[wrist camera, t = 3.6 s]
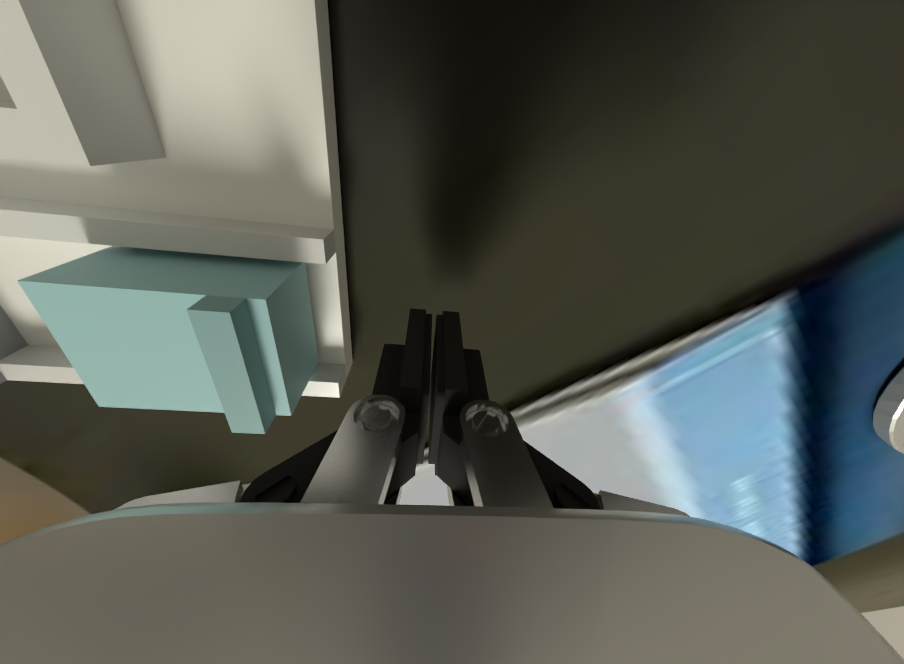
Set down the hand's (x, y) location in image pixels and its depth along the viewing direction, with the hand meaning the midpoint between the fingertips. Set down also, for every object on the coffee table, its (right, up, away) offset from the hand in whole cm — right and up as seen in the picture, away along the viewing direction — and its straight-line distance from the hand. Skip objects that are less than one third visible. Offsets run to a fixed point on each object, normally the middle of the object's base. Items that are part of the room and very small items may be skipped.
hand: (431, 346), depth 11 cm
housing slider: (-8, +1, +1) cm, 8 cm away
